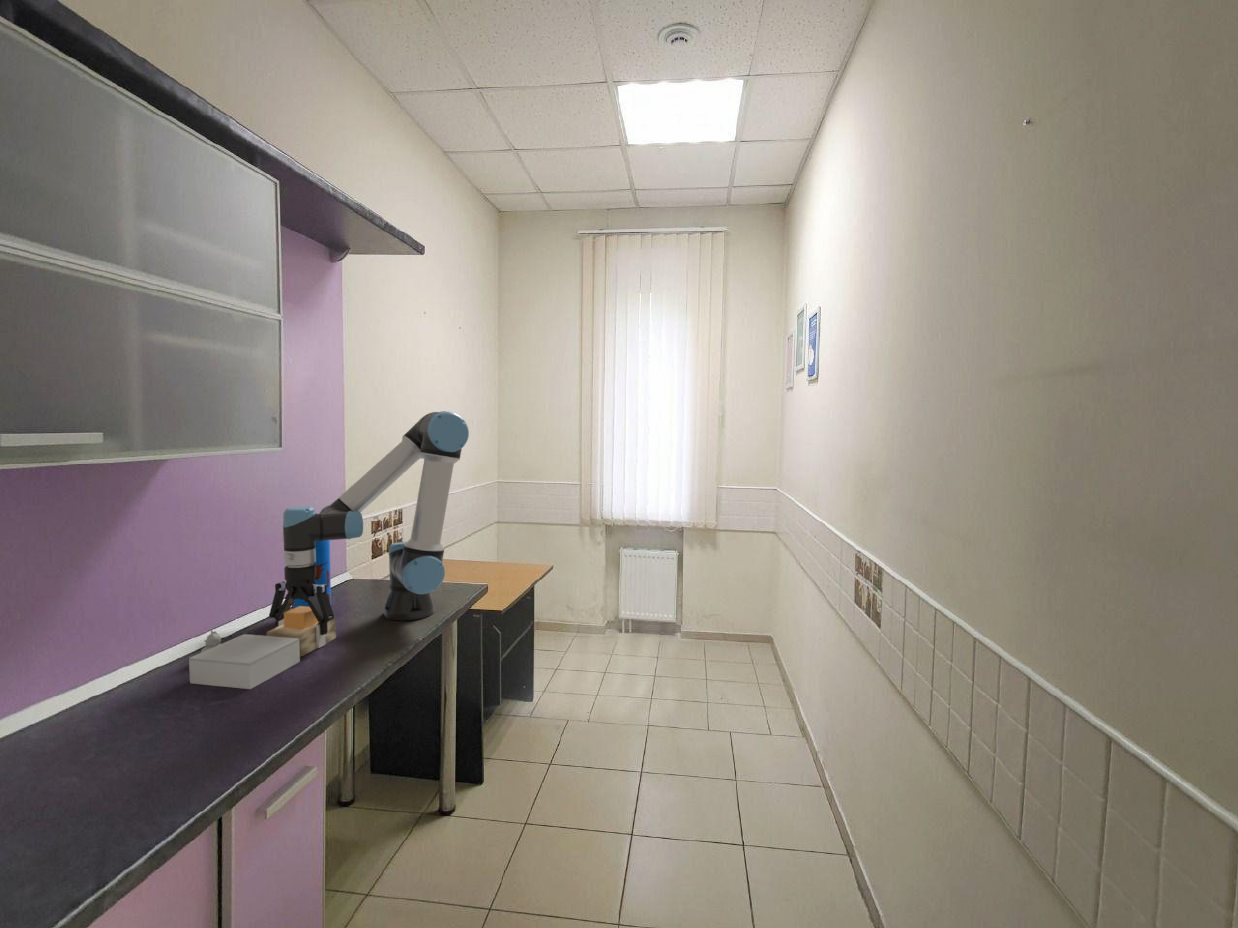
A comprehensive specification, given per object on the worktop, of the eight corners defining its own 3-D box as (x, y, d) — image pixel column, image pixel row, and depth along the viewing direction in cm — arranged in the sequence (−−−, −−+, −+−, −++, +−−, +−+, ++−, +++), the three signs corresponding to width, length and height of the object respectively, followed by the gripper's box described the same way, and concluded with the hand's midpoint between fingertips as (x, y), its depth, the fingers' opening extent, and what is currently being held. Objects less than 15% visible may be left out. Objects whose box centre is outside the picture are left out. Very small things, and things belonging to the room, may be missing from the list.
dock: (244, 656, 154) (244, 634, 153) (299, 661, 151) (299, 638, 150) (190, 683, 138) (188, 657, 138) (250, 689, 135) (249, 663, 135)
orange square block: (300, 620, 165) (299, 605, 165) (319, 621, 164) (319, 607, 164) (284, 627, 159) (283, 612, 159) (304, 628, 158) (303, 614, 158)
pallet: (304, 635, 170) (303, 615, 169) (335, 638, 168) (335, 617, 168) (267, 654, 156) (266, 631, 156) (301, 657, 154) (300, 634, 154)
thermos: (288, 615, 187) (286, 536, 185) (325, 608, 194) (323, 532, 192) (297, 624, 178) (294, 542, 177) (335, 617, 185) (333, 537, 184)
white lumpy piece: (207, 656, 154) (206, 625, 154) (235, 654, 155) (234, 624, 154) (196, 664, 149) (194, 633, 148) (224, 663, 150) (223, 631, 149)
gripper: (251, 565, 159) (254, 646, 160) (329, 570, 155) (331, 652, 156) (272, 559, 166) (275, 636, 168) (347, 563, 162) (349, 642, 163)
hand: (302, 644), depth 162 cm, fingers open, 11 cm apart
